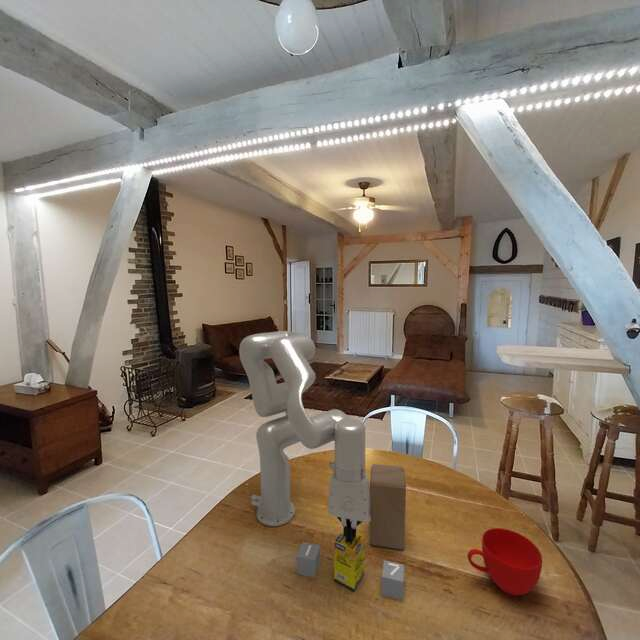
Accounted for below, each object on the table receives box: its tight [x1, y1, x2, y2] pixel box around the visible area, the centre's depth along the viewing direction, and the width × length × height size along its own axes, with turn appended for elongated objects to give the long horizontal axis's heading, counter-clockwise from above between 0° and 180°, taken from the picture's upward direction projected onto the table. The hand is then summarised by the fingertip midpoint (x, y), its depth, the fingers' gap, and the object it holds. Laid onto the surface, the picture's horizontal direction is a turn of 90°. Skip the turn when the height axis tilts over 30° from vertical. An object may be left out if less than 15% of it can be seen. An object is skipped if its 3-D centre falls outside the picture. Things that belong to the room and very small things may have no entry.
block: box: [368, 463, 407, 550], centre depth 97 cm, size 10×10×20 cm
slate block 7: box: [381, 559, 405, 601], centre depth 81 cm, size 5×5×5 cm
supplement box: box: [333, 529, 366, 592], centre depth 84 cm, size 6×6×11 cm
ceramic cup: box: [467, 527, 543, 597], centre depth 82 cm, size 13×17×10 cm
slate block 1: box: [295, 541, 321, 579], centre depth 87 cm, size 5×5×5 cm
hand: (349, 538), depth 83 cm, fingers closed
